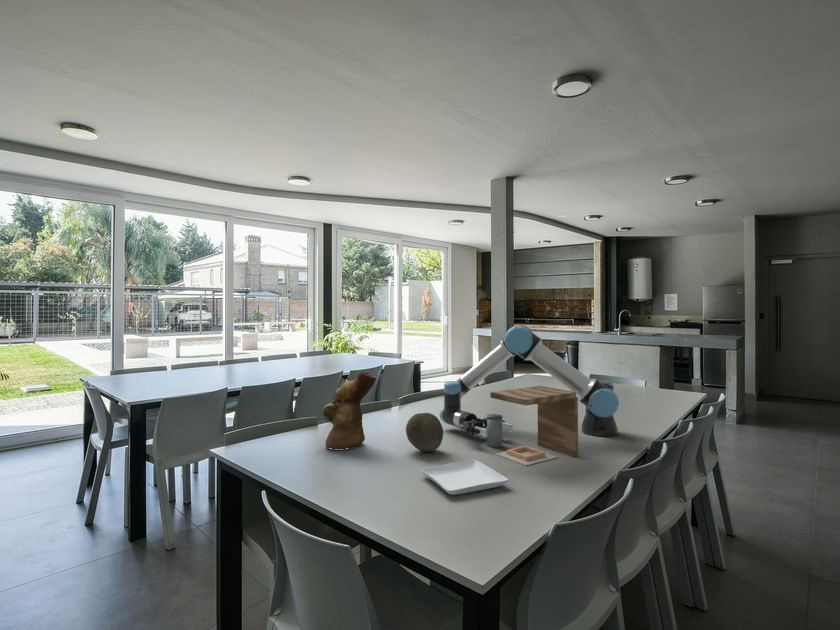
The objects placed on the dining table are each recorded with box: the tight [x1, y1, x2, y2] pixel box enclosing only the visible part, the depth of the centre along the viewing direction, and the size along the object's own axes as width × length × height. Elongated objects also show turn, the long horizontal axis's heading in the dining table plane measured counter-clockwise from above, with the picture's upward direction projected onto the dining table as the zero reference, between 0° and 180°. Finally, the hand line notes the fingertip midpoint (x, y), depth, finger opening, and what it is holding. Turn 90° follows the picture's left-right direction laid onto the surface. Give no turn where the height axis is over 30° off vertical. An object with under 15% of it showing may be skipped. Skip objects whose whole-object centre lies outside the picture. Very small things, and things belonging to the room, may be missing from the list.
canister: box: [486, 413, 503, 449], centre depth 189 cm, size 6×6×12 cm
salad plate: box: [420, 459, 509, 496], centre depth 149 cm, size 21×21×3 cm
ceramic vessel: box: [322, 370, 377, 449], centre depth 191 cm, size 16×22×30 cm
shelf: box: [489, 385, 579, 458], centre depth 174 cm, size 27×18×24 cm, turn 123°
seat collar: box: [494, 445, 558, 467], centre depth 175 cm, size 16×16×2 cm
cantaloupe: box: [405, 412, 444, 453], centre depth 181 cm, size 14×14×15 cm
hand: (499, 430), depth 187 cm, fingers open, 13 cm apart
